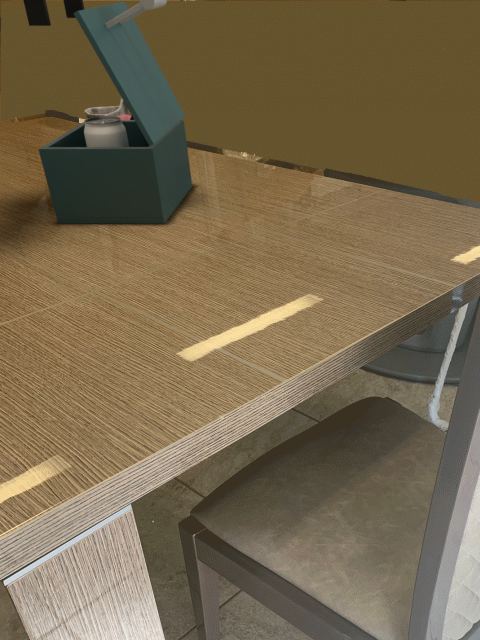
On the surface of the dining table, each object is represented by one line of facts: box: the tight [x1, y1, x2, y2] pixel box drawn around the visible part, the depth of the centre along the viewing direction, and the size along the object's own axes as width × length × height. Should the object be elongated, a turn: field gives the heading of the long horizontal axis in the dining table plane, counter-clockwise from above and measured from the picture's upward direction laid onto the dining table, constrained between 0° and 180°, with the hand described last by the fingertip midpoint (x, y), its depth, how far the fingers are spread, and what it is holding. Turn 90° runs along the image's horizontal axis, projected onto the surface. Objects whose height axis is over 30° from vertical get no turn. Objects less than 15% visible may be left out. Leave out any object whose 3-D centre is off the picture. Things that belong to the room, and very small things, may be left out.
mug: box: [84, 96, 129, 119], centre depth 140 cm, size 10×12×10 cm
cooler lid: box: [74, 0, 186, 146], centre depth 95 cm, size 18×20×9 cm
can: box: [83, 116, 129, 147], centre depth 104 cm, size 6×6×12 cm
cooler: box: [38, 119, 193, 225], centre depth 104 cm, size 17×20×11 cm
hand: (59, 21), depth 92 cm, fingers open, 13 cm apart
